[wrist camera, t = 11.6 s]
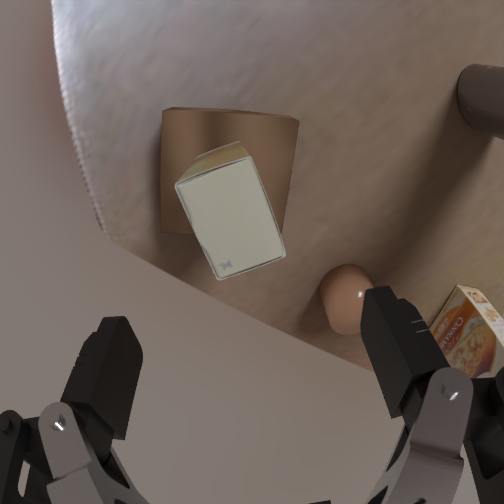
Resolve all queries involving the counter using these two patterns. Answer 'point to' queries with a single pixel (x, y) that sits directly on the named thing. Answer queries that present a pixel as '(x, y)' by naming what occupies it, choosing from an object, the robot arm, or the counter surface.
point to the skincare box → (230, 211)
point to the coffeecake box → (470, 333)
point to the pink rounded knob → (344, 297)
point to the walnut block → (217, 135)
